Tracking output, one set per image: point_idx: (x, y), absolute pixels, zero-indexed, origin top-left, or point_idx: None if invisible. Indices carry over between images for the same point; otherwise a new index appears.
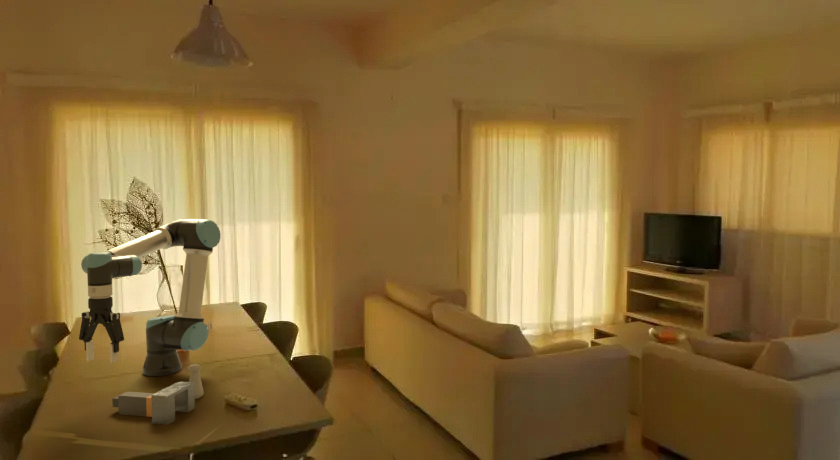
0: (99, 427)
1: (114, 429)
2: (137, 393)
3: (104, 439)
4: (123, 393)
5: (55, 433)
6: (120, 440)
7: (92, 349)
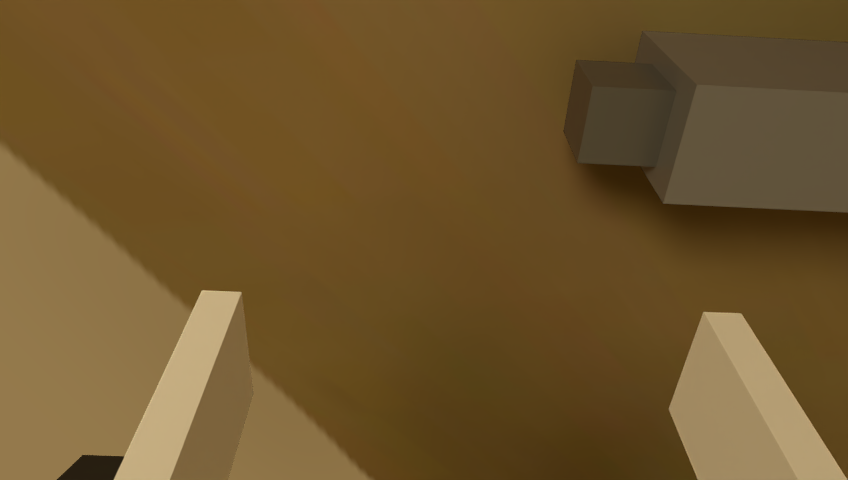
0: (619, 338)
1: None
2: (834, 129)
3: None
4: (687, 148)
5: (430, 424)
6: None
7: (192, 468)
